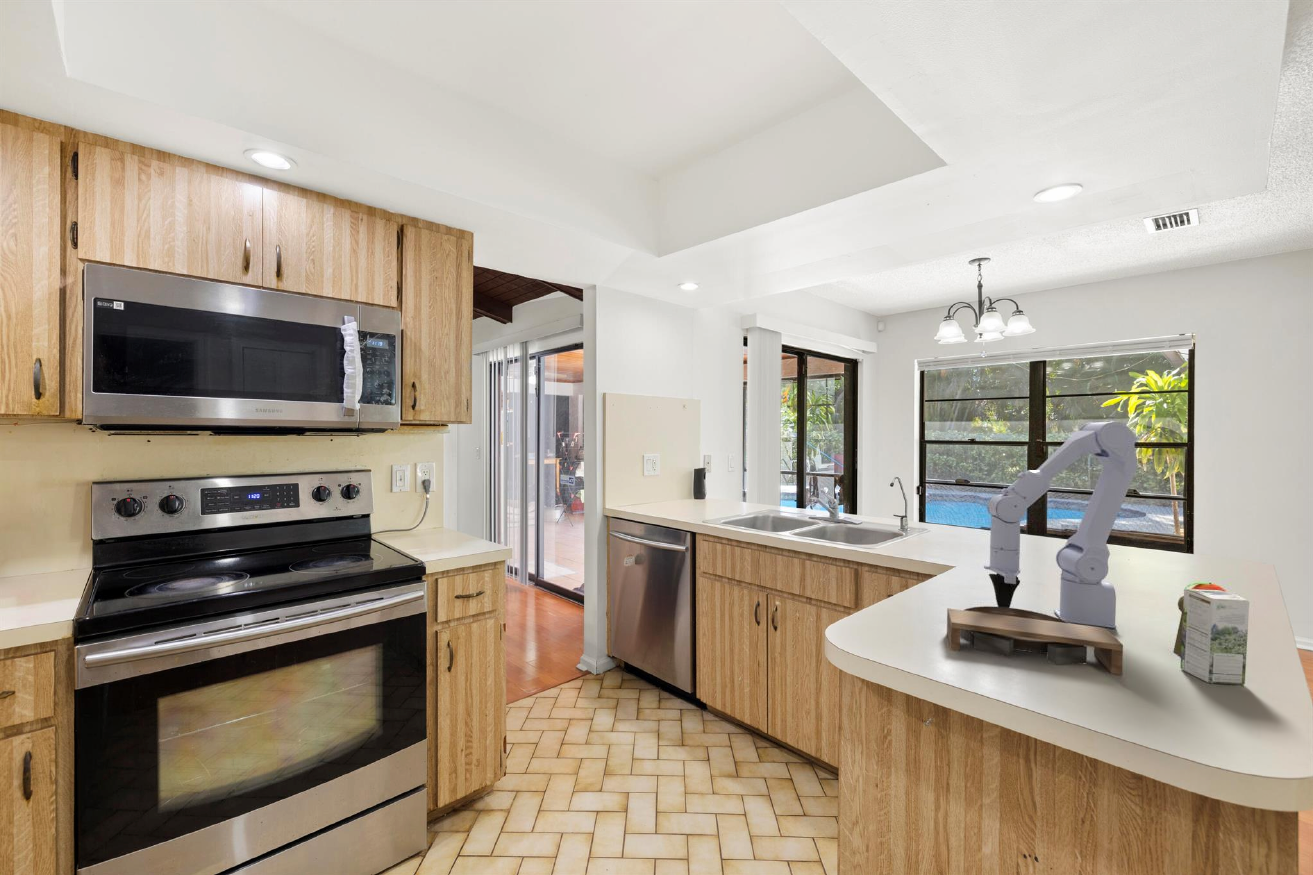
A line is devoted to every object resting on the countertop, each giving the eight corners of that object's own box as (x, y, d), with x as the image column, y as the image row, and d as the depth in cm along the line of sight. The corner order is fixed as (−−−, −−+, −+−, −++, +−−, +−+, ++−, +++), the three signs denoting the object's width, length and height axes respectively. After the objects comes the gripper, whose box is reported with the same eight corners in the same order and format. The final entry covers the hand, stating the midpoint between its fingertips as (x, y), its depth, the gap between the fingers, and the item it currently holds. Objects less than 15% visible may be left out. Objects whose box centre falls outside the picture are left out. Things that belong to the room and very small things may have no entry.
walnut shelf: (1103, 655, 104) (1104, 627, 104) (1122, 675, 95) (1122, 644, 95) (946, 633, 114) (947, 608, 114) (951, 649, 106) (951, 622, 106)
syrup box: (1215, 671, 98) (1217, 588, 97) (1247, 686, 92) (1250, 598, 92) (1179, 669, 98) (1182, 587, 98) (1209, 684, 92) (1212, 597, 92)
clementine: (1186, 613, 129) (1187, 583, 129) (1178, 605, 135) (1179, 576, 135) (1235, 620, 125) (1236, 588, 125) (1224, 611, 131) (1225, 581, 131)
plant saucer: (969, 649, 107) (970, 632, 107) (950, 615, 126) (950, 600, 126) (1099, 665, 100) (1100, 647, 100) (1058, 627, 119) (1058, 611, 119)
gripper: (979, 540, 135) (978, 596, 135) (989, 552, 122) (988, 614, 122) (1014, 543, 132) (1012, 600, 133) (1027, 555, 119) (1026, 619, 119)
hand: (1003, 607), depth 127 cm, fingers closed
